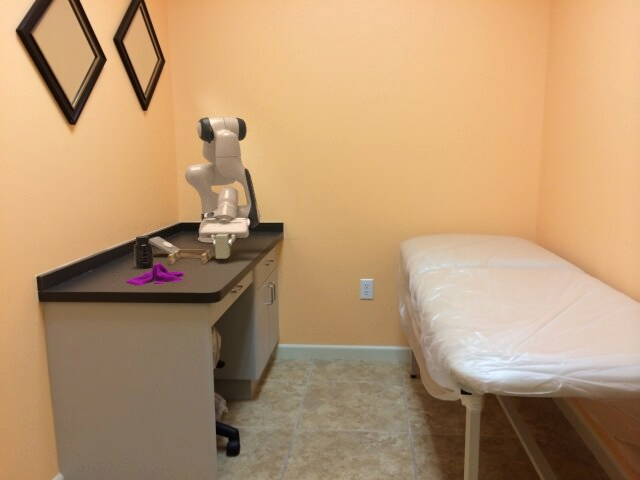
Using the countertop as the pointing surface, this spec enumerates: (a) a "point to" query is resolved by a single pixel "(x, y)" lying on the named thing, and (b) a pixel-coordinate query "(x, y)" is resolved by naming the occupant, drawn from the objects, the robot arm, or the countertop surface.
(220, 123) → the robot arm
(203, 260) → the wooden frame
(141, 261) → the supplement bottle
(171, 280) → the cloth
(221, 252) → the pale olive cuboid
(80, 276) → the countertop surface
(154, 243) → the light switch
